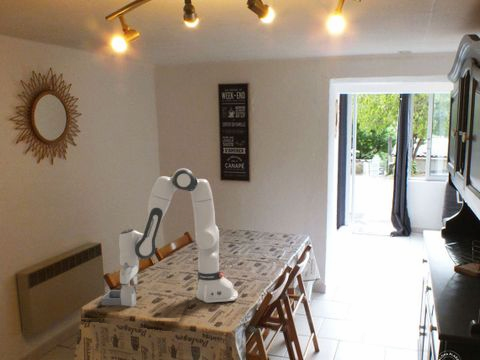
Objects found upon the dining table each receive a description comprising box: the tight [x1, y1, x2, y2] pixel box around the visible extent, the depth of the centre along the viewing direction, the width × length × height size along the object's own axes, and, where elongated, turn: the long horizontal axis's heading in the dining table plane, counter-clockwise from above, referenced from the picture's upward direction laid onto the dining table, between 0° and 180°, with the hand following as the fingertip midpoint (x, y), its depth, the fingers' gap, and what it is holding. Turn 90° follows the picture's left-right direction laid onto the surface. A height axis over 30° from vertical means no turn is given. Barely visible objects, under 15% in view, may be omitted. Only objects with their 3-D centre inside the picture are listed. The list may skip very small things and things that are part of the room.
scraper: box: [130, 279, 138, 301], centre depth 221 cm, size 3×7×10 cm, turn 20°
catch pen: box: [100, 289, 122, 306], centre depth 221 cm, size 10×12×4 cm
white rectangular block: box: [120, 284, 137, 308], centre depth 216 cm, size 4×7×10 cm, turn 70°
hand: (130, 286), depth 220 cm, fingers closed on scraper, 4 cm apart
